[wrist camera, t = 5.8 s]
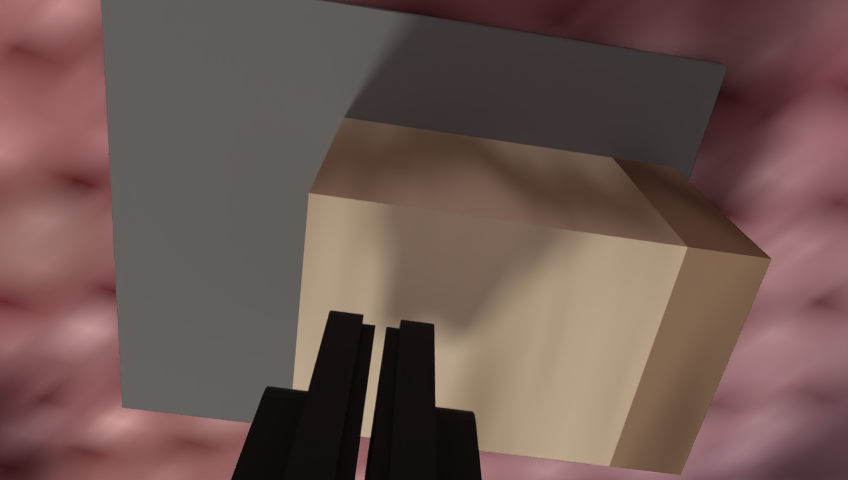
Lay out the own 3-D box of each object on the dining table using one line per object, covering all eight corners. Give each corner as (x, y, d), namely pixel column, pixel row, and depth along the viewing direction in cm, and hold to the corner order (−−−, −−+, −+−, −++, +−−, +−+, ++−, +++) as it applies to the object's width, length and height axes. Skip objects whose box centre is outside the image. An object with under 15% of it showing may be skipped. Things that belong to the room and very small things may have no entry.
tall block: (343, 117, 15) (672, 166, 16) (324, 299, 17) (616, 338, 18) (309, 192, 11) (771, 259, 11) (289, 427, 13) (680, 474, 13)
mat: (720, 63, 15) (727, 66, 15) (587, 454, 20) (590, 464, 20) (107, -37, 14) (98, -36, 14) (127, 398, 19) (122, 407, 19)
